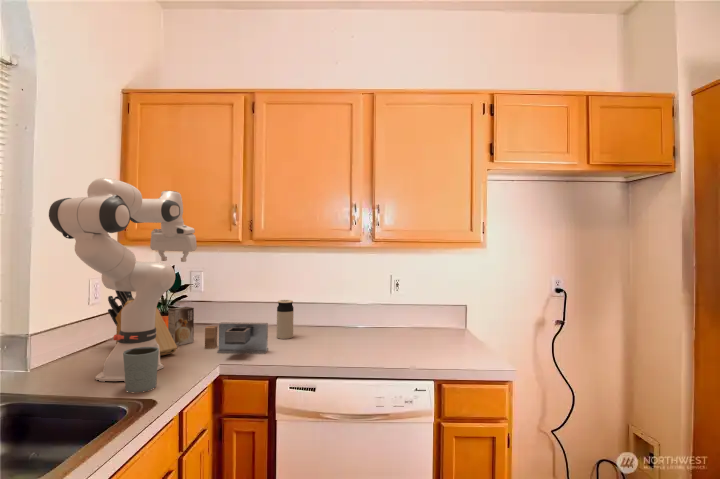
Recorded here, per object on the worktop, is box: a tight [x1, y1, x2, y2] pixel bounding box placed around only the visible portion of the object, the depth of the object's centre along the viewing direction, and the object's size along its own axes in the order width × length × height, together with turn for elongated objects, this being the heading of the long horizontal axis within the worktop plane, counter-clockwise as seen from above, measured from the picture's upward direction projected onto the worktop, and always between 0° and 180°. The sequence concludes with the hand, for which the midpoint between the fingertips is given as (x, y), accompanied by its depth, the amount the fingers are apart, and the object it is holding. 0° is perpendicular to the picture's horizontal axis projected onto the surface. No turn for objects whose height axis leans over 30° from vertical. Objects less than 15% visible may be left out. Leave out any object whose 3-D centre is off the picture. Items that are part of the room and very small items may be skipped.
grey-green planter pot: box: [123, 347, 159, 393], centre depth 128 cm, size 10×10×12 cm
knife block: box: [107, 290, 178, 357], centre depth 170 cm, size 11×35×31 cm, turn 59°
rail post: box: [204, 325, 218, 349], centre depth 178 cm, size 4×4×9 cm
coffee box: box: [167, 306, 195, 347], centre depth 184 cm, size 9×6×16 cm
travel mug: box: [276, 299, 294, 340], centre depth 198 cm, size 8×8×18 cm
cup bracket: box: [216, 321, 269, 355], centre depth 168 cm, size 15×20×12 cm
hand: (173, 261), depth 173 cm, fingers open, 8 cm apart
